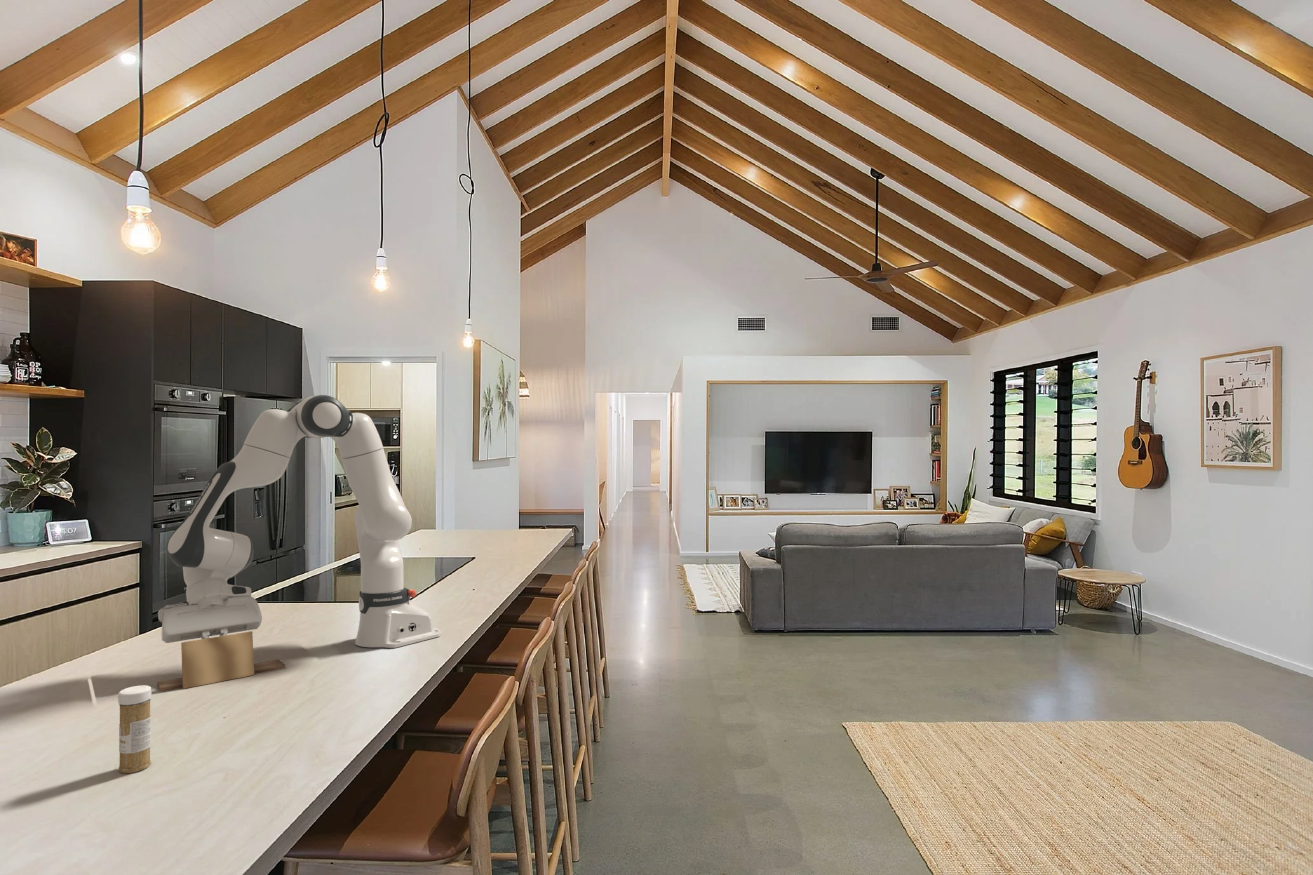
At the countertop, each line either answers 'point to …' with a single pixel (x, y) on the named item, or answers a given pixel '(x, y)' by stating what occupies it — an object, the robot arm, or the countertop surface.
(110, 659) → the countertop surface
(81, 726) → the countertop surface
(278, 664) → the walnut floorboard
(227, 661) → the oak plank
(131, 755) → the spice jar
